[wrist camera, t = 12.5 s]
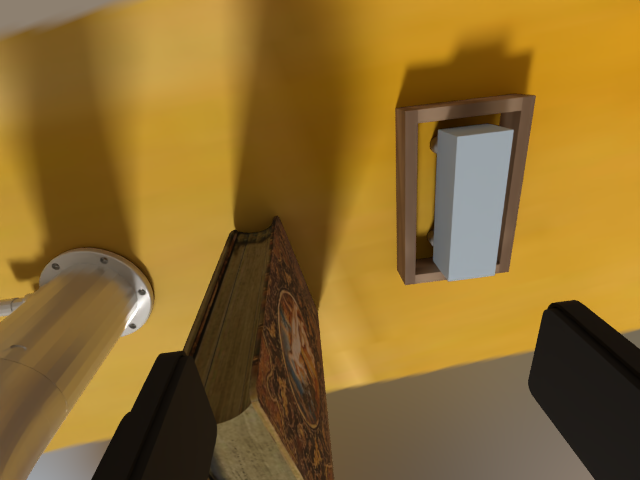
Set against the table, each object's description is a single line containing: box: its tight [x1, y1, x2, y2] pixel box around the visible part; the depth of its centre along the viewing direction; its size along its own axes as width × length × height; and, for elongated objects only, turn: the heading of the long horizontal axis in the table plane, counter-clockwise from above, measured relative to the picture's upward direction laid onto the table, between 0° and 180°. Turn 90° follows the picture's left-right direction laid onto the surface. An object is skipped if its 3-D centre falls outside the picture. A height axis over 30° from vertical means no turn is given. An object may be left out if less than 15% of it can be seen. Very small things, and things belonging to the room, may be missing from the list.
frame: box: [396, 94, 536, 285], centre depth 38 cm, size 12×19×4 cm, turn 6°
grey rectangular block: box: [433, 123, 514, 281], centre depth 35 cm, size 15×5×4 cm, turn 6°
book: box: [183, 216, 334, 480], centre depth 32 cm, size 16×6×25 cm, turn 18°
